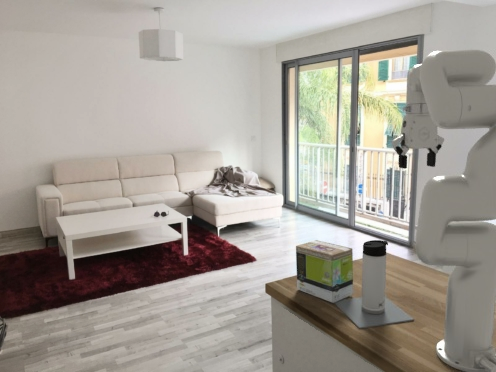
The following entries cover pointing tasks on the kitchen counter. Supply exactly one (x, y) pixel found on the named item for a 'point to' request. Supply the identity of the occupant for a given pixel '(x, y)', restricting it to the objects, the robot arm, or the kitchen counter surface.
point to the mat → (365, 320)
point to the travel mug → (374, 276)
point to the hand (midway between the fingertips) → (416, 167)
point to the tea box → (325, 270)
